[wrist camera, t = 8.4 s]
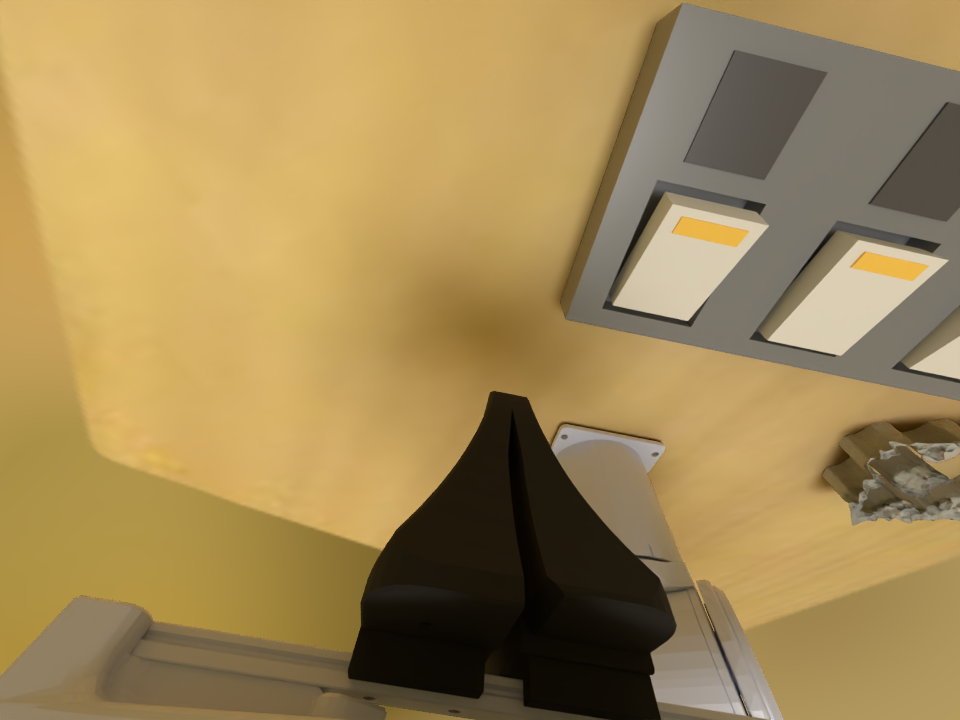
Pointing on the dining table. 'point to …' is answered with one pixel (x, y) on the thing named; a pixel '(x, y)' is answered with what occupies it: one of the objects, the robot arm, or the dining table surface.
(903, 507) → the egg carton
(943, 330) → the rocker carton end
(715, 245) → the labelled cream tile
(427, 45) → the dining table surface
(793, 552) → the dining table surface
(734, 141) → the grey rocker switch panel
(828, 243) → the rocker middle
